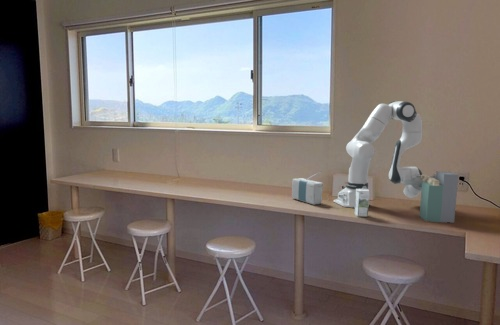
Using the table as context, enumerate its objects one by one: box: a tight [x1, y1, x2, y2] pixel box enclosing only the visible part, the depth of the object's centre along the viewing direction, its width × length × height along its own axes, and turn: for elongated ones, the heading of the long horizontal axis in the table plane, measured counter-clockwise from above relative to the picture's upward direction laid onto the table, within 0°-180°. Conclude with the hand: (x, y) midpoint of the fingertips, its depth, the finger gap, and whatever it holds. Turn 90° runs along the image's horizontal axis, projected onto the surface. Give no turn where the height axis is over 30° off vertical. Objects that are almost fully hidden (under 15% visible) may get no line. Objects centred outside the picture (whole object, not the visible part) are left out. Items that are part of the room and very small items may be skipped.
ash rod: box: [421, 174, 440, 186], centre depth 214 cm, size 19×3×3 cm, turn 176°
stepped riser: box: [419, 170, 459, 224], centre depth 210 cm, size 10×14×25 cm
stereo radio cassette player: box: [291, 171, 324, 206], centre depth 247 cm, size 21×8×20 cm, turn 33°
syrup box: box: [353, 188, 370, 218], centre depth 216 cm, size 6×6×14 cm
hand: (426, 175), depth 219 cm, fingers open, 8 cm apart
